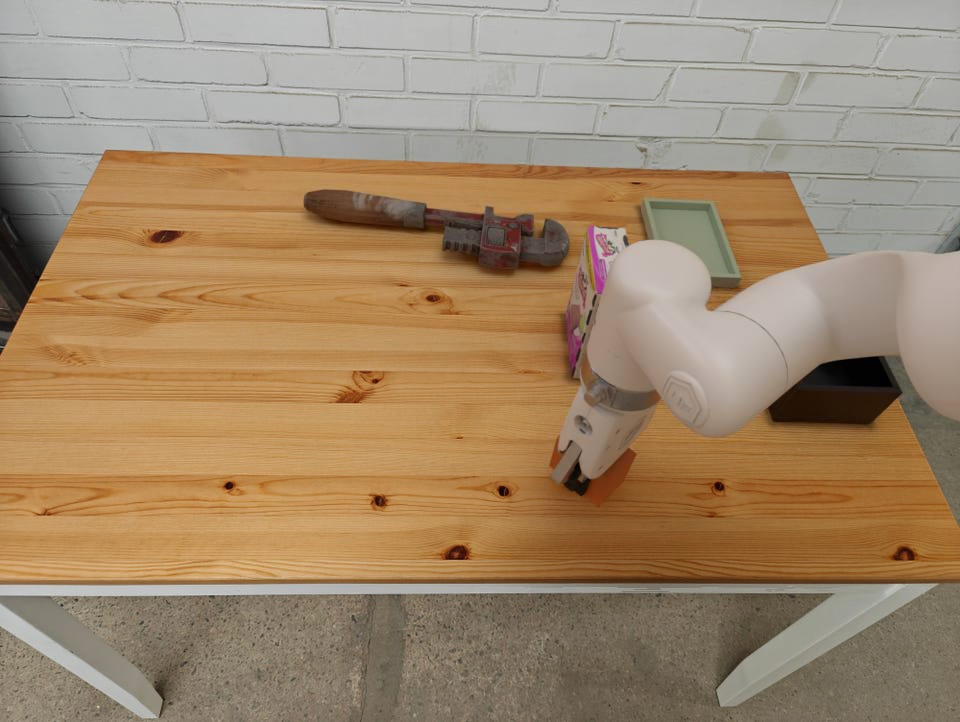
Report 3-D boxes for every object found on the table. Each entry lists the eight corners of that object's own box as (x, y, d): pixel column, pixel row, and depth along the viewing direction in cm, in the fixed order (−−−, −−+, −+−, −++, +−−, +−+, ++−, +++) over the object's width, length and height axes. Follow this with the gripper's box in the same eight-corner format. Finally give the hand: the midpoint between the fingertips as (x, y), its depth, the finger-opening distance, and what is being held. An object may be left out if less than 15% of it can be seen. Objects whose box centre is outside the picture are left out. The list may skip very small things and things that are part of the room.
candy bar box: (562, 315, 87) (585, 223, 74) (598, 317, 87) (627, 225, 74) (568, 381, 80) (595, 291, 67) (607, 382, 81) (641, 294, 68)
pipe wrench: (567, 228, 99) (573, 202, 95) (567, 284, 91) (573, 258, 87) (312, 201, 99) (307, 174, 95) (290, 255, 91) (284, 228, 87)
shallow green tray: (736, 287, 93) (742, 277, 91) (659, 284, 92) (663, 274, 90) (709, 211, 103) (713, 200, 102) (640, 207, 103) (643, 197, 101)
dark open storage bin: (870, 424, 79) (903, 392, 74) (772, 421, 78) (798, 389, 73) (822, 319, 90) (848, 285, 84) (736, 316, 89) (757, 281, 84)
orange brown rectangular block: (623, 481, 69) (637, 453, 64) (598, 508, 67) (610, 481, 62) (574, 441, 72) (583, 412, 67) (548, 465, 70) (556, 437, 65)
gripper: (600, 456, 49) (564, 547, 63) (714, 342, 57) (659, 446, 71) (528, 398, 52) (509, 497, 66) (646, 299, 60) (606, 406, 74)
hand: (587, 470), depth 69 cm, fingers closed on orange brown rectangular block, 4 cm apart
